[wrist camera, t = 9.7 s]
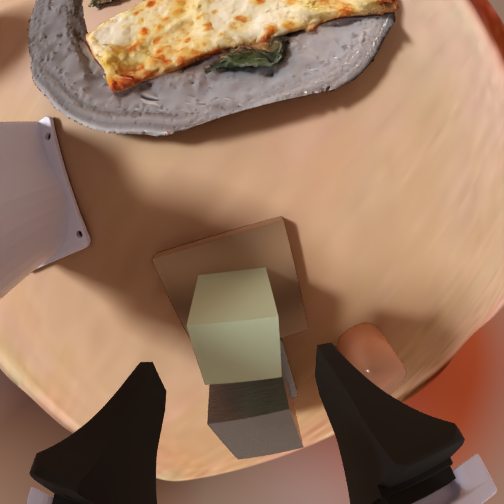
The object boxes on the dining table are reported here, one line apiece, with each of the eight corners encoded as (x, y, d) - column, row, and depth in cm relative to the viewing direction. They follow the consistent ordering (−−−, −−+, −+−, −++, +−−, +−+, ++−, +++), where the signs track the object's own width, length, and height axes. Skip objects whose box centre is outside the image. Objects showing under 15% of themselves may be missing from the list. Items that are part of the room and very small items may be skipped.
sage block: (198, 275, 16) (186, 325, 11) (265, 267, 16) (278, 315, 11) (210, 328, 18) (205, 384, 13) (270, 321, 18) (281, 376, 13)
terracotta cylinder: (334, 332, 20) (356, 378, 15) (379, 316, 20) (409, 356, 15) (338, 365, 21) (356, 409, 17) (379, 350, 21) (403, 389, 16)
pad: (155, 253, 16) (151, 259, 15) (280, 216, 16) (283, 220, 15) (200, 348, 19) (199, 357, 18) (305, 321, 19) (308, 329, 18)
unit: (202, 351, 20) (195, 420, 14) (280, 333, 19) (296, 401, 13) (232, 404, 22) (234, 462, 16) (296, 389, 22) (310, 448, 16)
